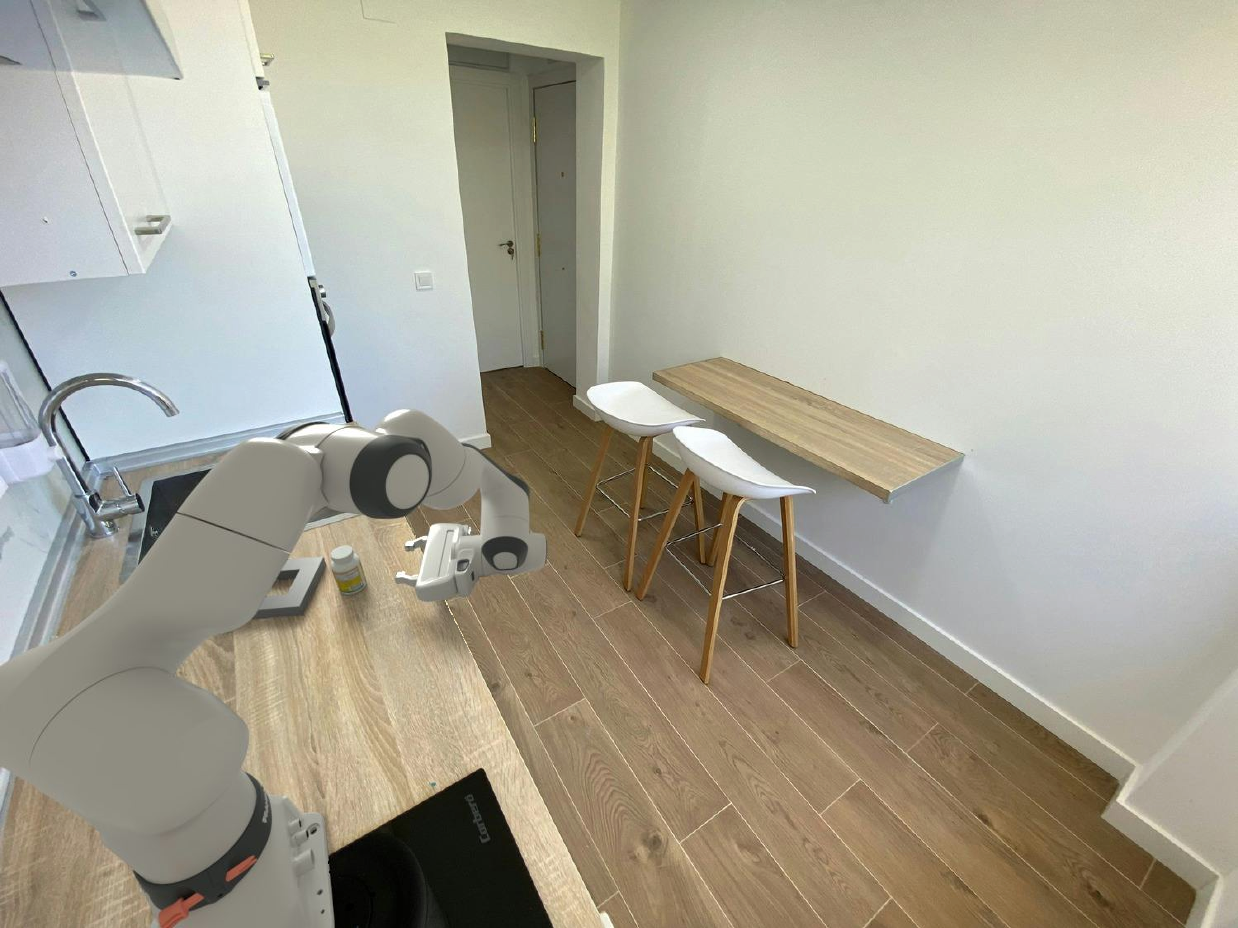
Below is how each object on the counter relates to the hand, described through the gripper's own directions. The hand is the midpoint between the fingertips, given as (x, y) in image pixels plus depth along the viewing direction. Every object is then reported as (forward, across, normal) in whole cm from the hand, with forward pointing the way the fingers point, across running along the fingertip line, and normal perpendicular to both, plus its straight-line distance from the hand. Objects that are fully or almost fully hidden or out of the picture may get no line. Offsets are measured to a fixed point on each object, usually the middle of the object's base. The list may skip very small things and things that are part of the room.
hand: (400, 561), depth 104 cm
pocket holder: (+25, 0, +6) cm, 26 cm away
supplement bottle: (+11, 0, +6) cm, 12 cm away
